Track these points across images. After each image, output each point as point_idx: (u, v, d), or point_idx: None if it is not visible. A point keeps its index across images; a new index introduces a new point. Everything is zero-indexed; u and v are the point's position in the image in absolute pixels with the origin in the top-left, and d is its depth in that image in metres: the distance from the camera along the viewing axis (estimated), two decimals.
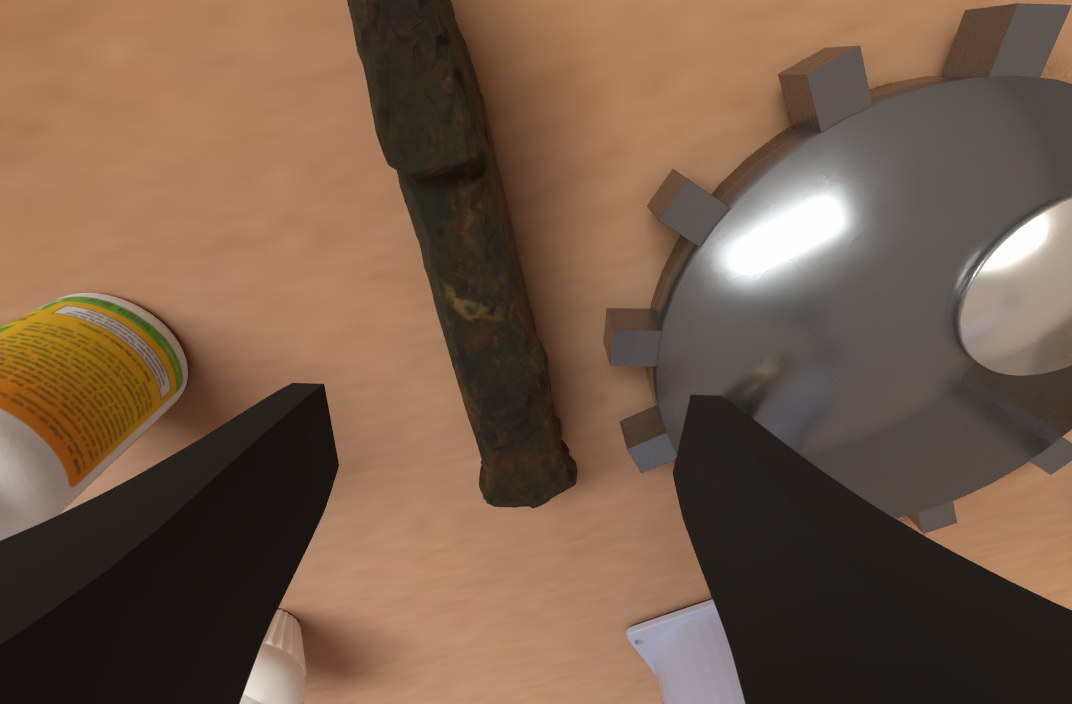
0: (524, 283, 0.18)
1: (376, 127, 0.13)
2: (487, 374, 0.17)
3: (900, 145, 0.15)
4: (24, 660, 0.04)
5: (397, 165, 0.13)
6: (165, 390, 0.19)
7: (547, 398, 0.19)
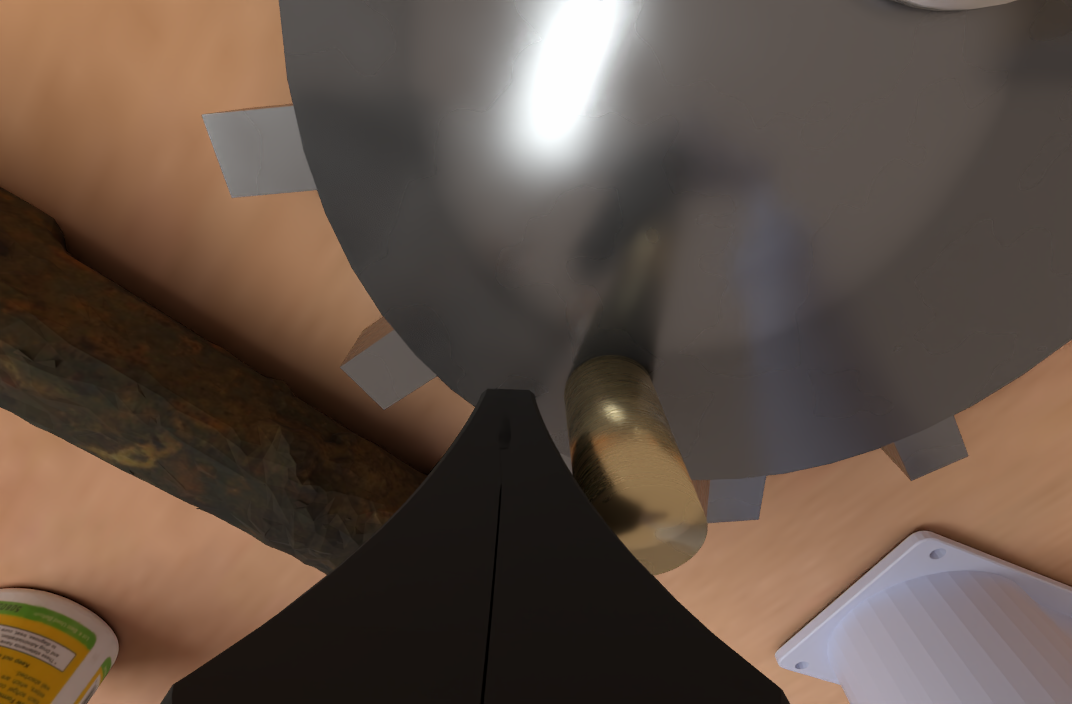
0: (232, 368, 0.13)
1: None
2: (243, 509, 0.12)
3: None
4: (487, 665, 0.04)
5: None
6: (63, 660, 0.17)
7: (365, 483, 0.13)
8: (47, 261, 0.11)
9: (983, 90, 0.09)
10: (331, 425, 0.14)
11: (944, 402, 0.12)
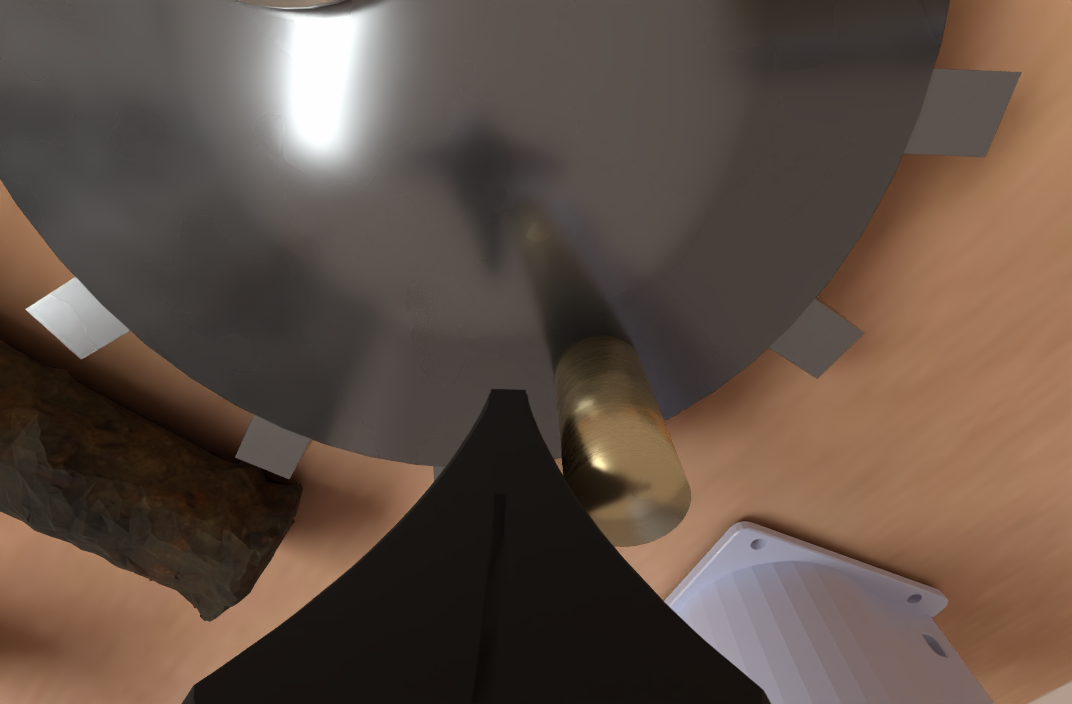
0: None
1: None
2: (2, 494, 0.12)
3: (103, 225, 0.10)
4: None
5: None
6: None
7: (138, 468, 0.13)
8: None
9: None
10: (114, 413, 0.14)
11: (902, 75, 0.09)
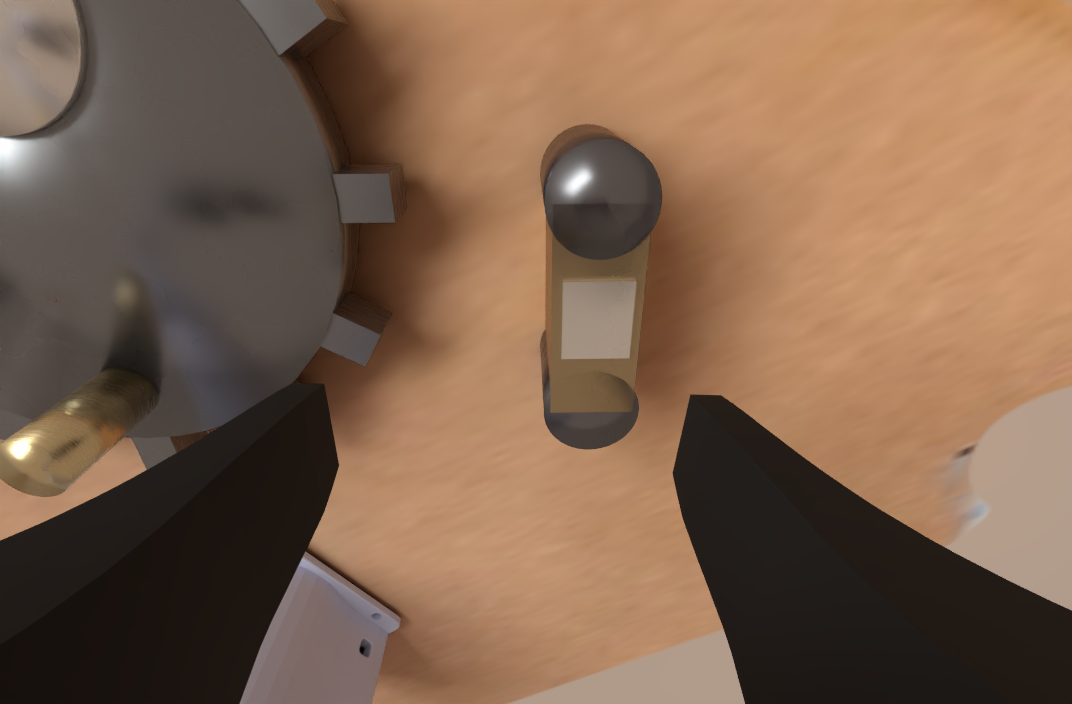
0: None
1: None
2: None
3: None
4: (24, 660, 0.04)
5: None
6: None
7: None
8: None
9: (117, 144, 0.14)
10: None
11: (315, 310, 0.17)
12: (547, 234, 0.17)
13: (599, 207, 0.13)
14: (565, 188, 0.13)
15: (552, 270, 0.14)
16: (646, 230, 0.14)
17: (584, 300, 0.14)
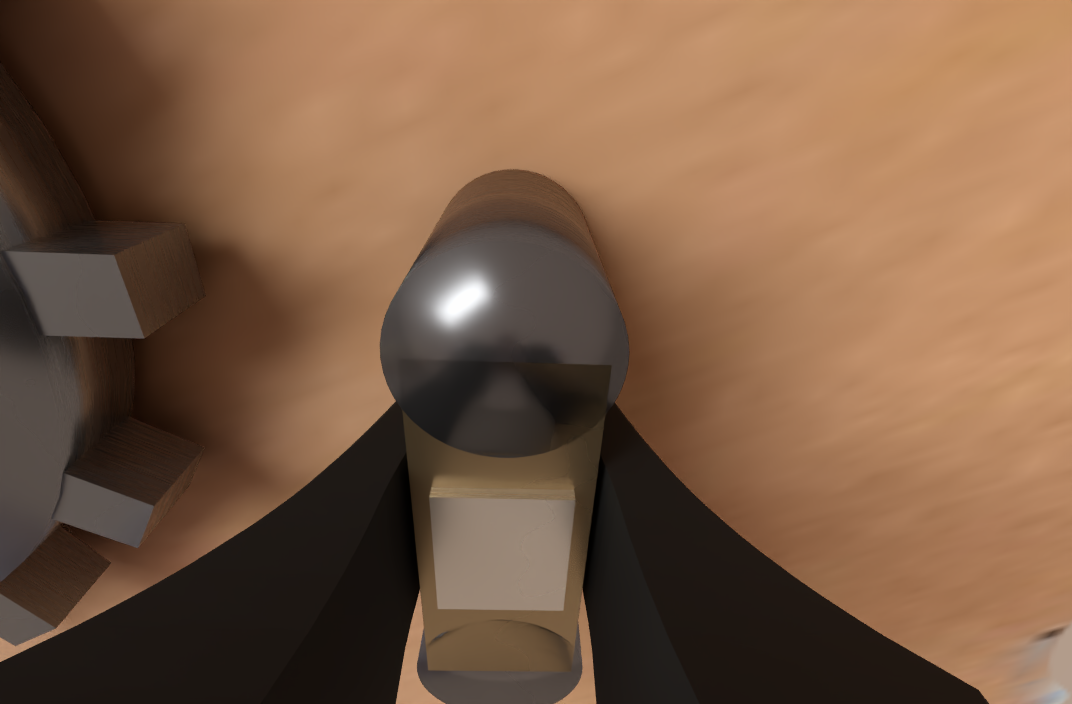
0: None
1: None
2: None
3: None
4: (307, 664, 0.04)
5: None
6: None
7: None
8: None
9: None
10: None
11: (27, 470, 0.09)
12: None
13: (498, 368, 0.06)
14: (421, 331, 0.06)
15: (411, 469, 0.07)
16: (596, 412, 0.07)
17: (474, 526, 0.07)
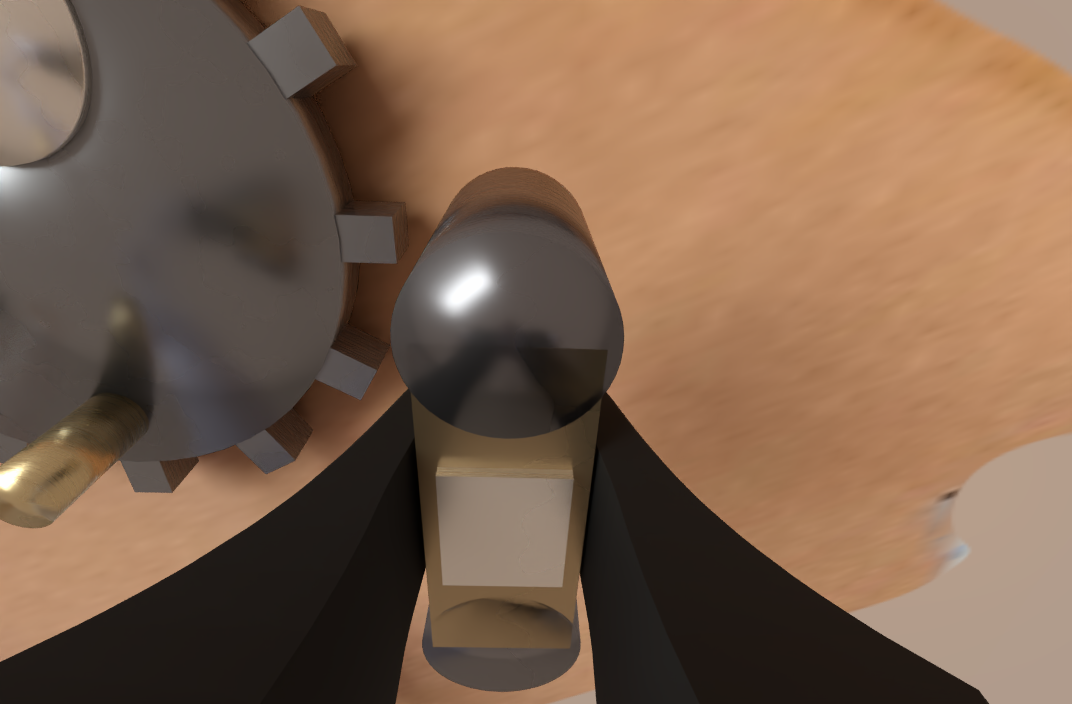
0: None
1: None
2: None
3: None
4: (307, 663, 0.04)
5: None
6: None
7: None
8: None
9: (117, 177, 0.14)
10: None
11: (312, 345, 0.16)
12: None
13: (500, 353, 0.07)
14: (429, 317, 0.06)
15: (418, 449, 0.08)
16: (593, 395, 0.07)
17: (477, 504, 0.08)
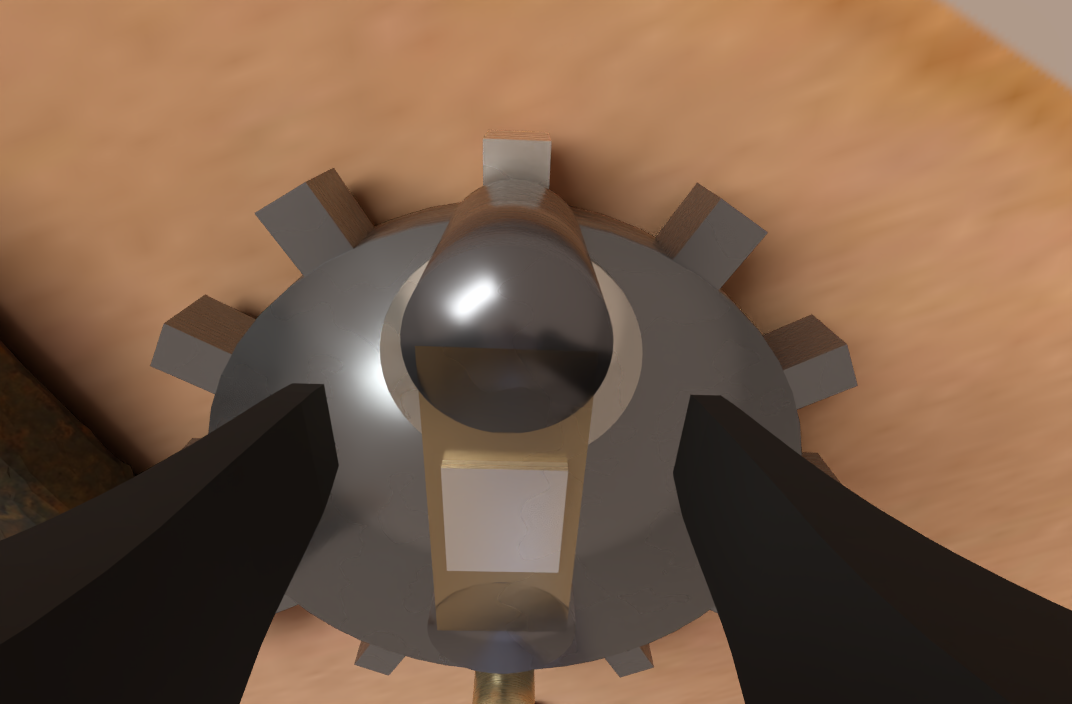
0: (91, 454, 0.16)
1: None
2: None
3: None
4: (24, 660, 0.04)
5: None
6: None
7: None
8: None
9: (608, 467, 0.15)
10: None
11: None
12: None
13: (501, 354, 0.07)
14: (436, 322, 0.07)
15: (425, 443, 0.08)
16: (585, 393, 0.08)
17: (480, 494, 0.08)
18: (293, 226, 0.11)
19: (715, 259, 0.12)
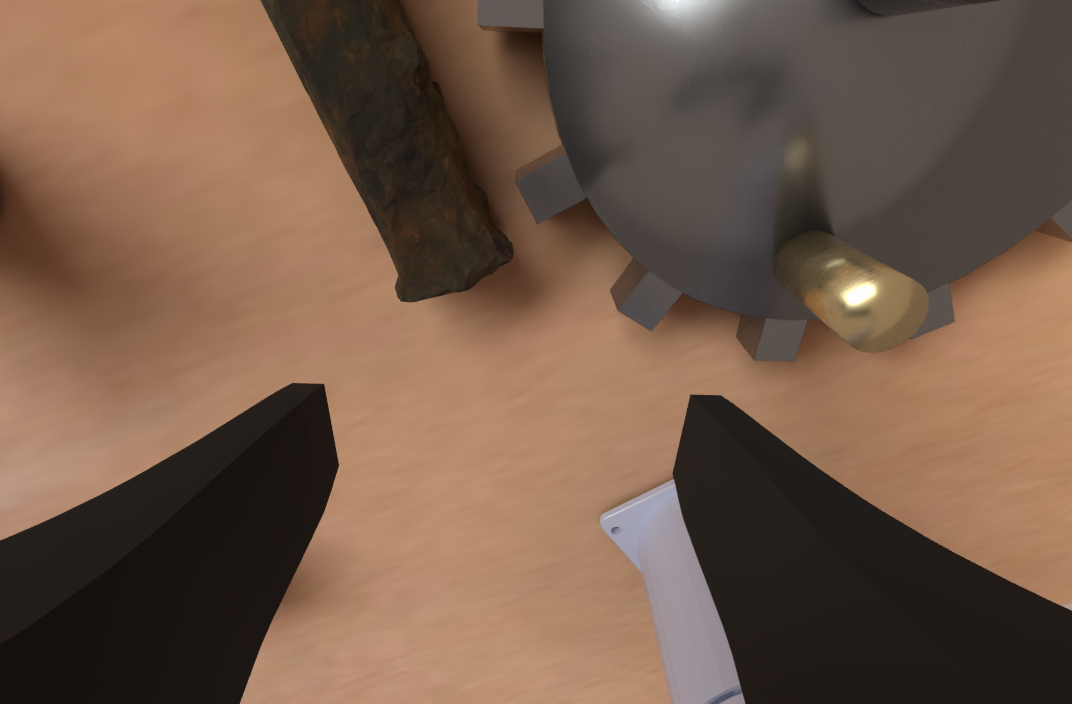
0: None
1: None
2: (344, 81, 0.13)
3: None
4: (24, 661, 0.04)
5: None
6: None
7: (446, 133, 0.14)
8: None
9: None
10: None
11: None
12: None
13: None
14: None
15: None
16: None
17: None
18: None
19: None
